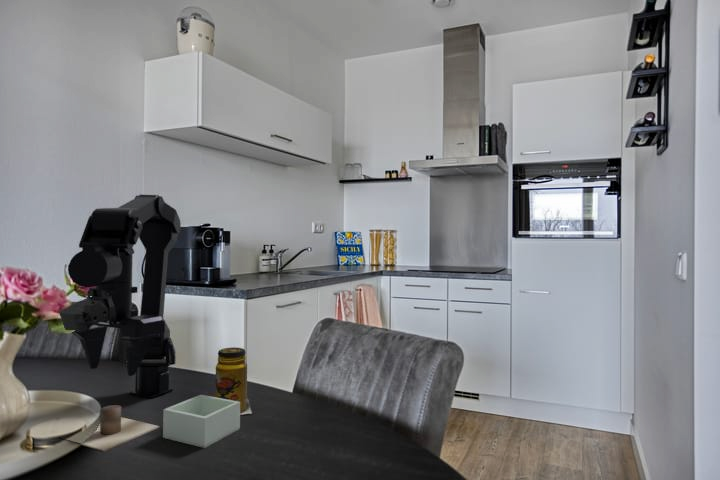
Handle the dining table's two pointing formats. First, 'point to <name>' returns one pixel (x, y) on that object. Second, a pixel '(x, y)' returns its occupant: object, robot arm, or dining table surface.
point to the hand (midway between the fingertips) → (112, 371)
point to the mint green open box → (201, 420)
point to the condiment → (232, 377)
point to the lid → (115, 429)
